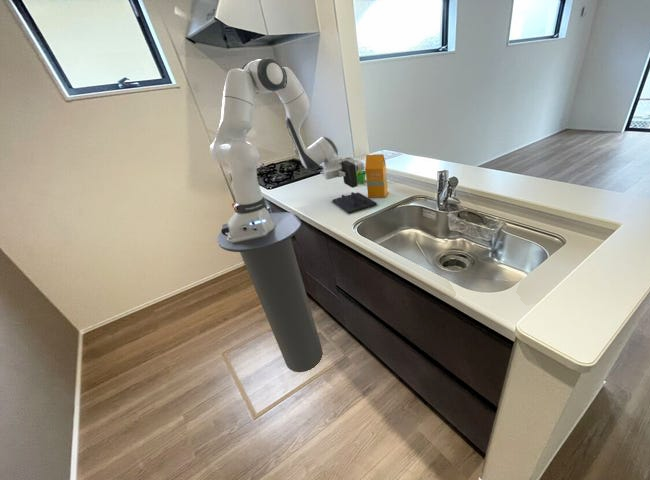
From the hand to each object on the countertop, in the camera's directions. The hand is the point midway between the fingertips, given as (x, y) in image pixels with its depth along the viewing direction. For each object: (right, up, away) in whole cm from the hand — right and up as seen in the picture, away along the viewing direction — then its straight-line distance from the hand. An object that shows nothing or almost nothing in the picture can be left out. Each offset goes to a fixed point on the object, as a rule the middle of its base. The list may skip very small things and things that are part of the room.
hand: (350, 173), depth 139 cm
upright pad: (0, -4, +4) cm, 6 cm away
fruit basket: (+1, +7, +37) cm, 37 cm away
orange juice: (+13, -6, +16) cm, 22 cm away
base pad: (+1, -12, +10) cm, 15 cm away
